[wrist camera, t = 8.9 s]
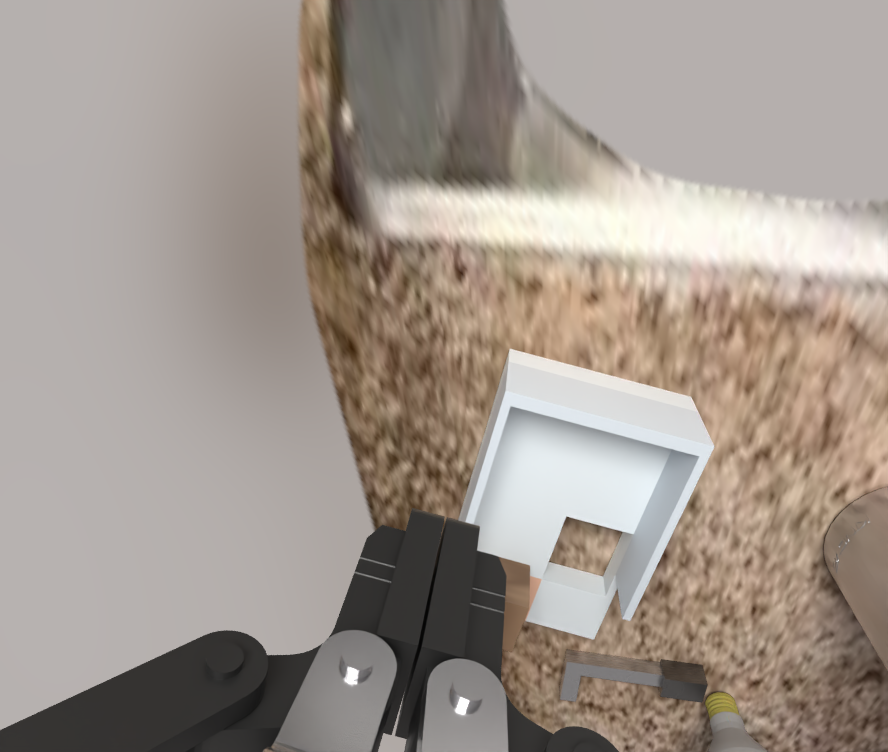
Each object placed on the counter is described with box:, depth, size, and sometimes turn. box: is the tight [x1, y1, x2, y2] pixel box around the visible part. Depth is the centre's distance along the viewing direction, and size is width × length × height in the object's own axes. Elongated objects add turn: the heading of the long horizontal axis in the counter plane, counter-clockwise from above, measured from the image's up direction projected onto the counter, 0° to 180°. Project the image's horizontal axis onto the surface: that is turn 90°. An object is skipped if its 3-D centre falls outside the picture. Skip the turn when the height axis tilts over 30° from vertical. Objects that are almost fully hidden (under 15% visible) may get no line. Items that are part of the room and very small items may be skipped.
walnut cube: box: [499, 557, 530, 652], centre depth 45 cm, size 4×4×4 cm
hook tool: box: [560, 649, 707, 702], centre depth 50 cm, size 10×4×2 cm, turn 87°
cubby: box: [458, 349, 714, 640], centre depth 43 cm, size 12×19×6 cm, turn 167°
